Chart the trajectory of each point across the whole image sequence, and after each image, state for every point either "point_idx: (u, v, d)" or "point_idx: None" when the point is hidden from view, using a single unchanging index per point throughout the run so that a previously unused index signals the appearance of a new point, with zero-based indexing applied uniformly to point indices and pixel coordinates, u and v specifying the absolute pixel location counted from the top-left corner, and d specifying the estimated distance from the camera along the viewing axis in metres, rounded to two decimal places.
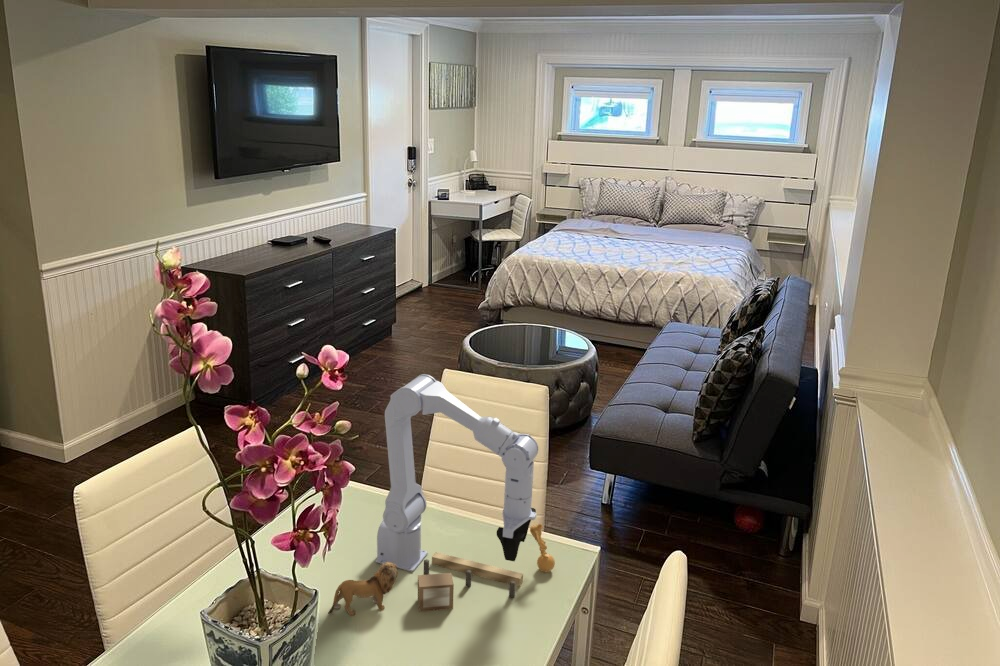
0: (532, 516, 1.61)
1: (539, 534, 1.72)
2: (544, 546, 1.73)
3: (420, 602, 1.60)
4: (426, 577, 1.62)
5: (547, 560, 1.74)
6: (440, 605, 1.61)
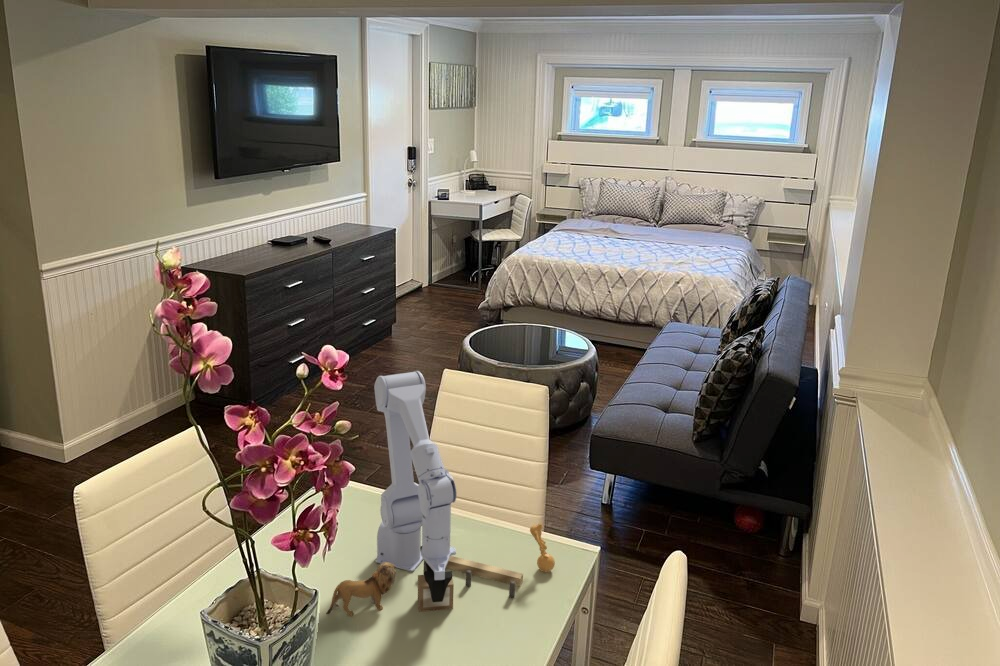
0: (453, 551, 1.59)
1: (539, 534, 1.72)
2: (544, 546, 1.73)
3: (420, 602, 1.60)
4: None
5: (547, 560, 1.74)
6: (440, 605, 1.61)
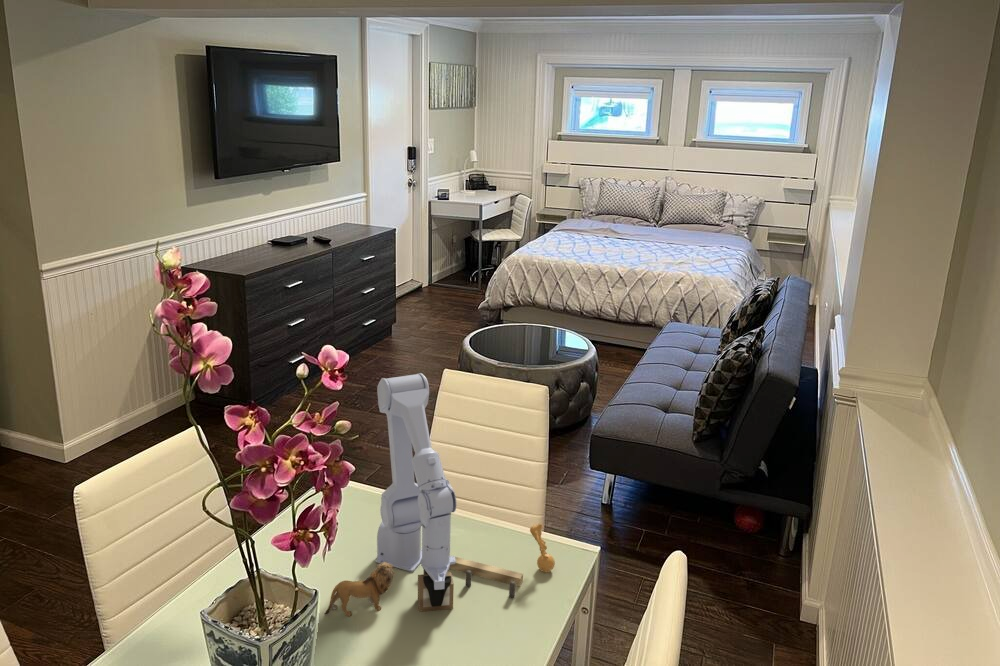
0: (453, 560, 1.60)
1: (539, 534, 1.72)
2: (544, 546, 1.73)
3: (420, 601, 1.60)
4: None
5: (547, 560, 1.74)
6: None
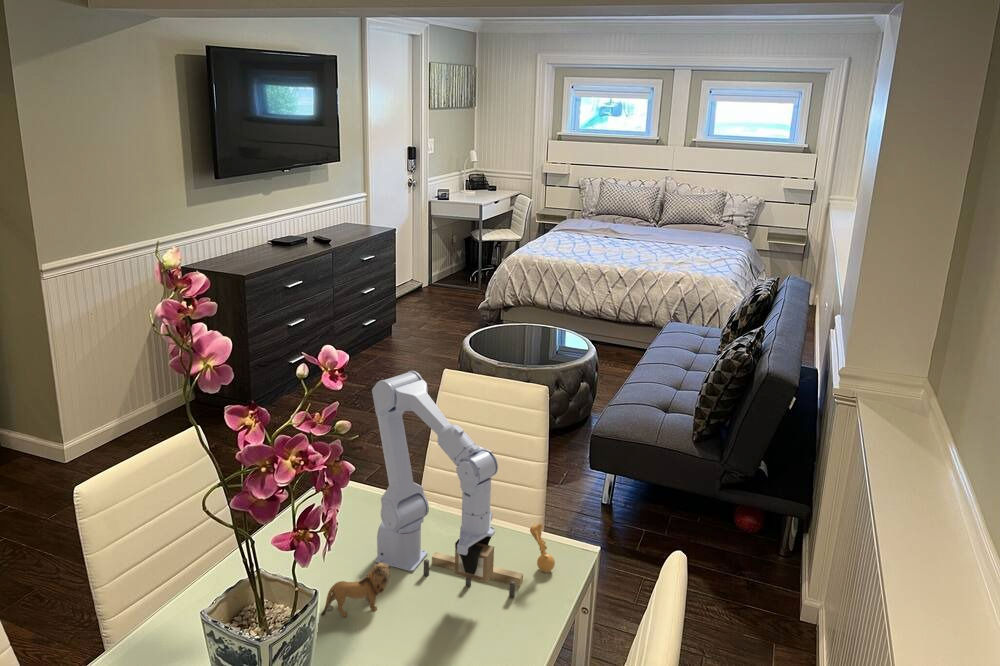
0: (490, 533, 1.57)
1: (539, 534, 1.72)
2: (544, 546, 1.73)
3: (456, 565, 1.61)
4: None
5: (547, 560, 1.74)
6: (474, 574, 1.60)
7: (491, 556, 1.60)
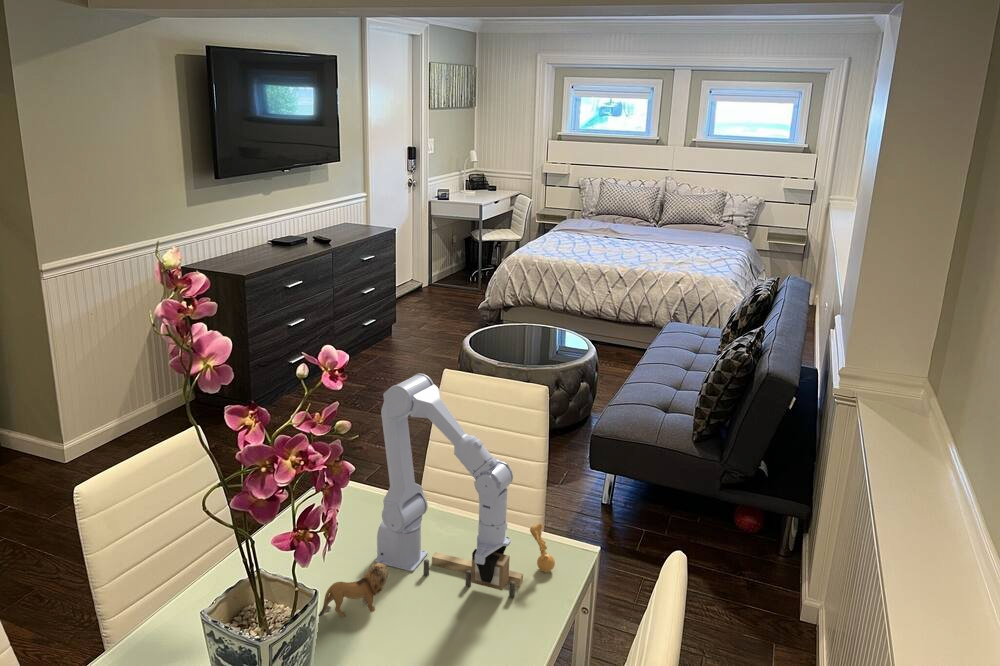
0: (506, 542, 1.62)
1: (539, 534, 1.72)
2: (544, 546, 1.73)
3: (472, 573, 1.65)
4: None
5: (547, 560, 1.74)
6: (490, 583, 1.64)
7: (507, 565, 1.65)
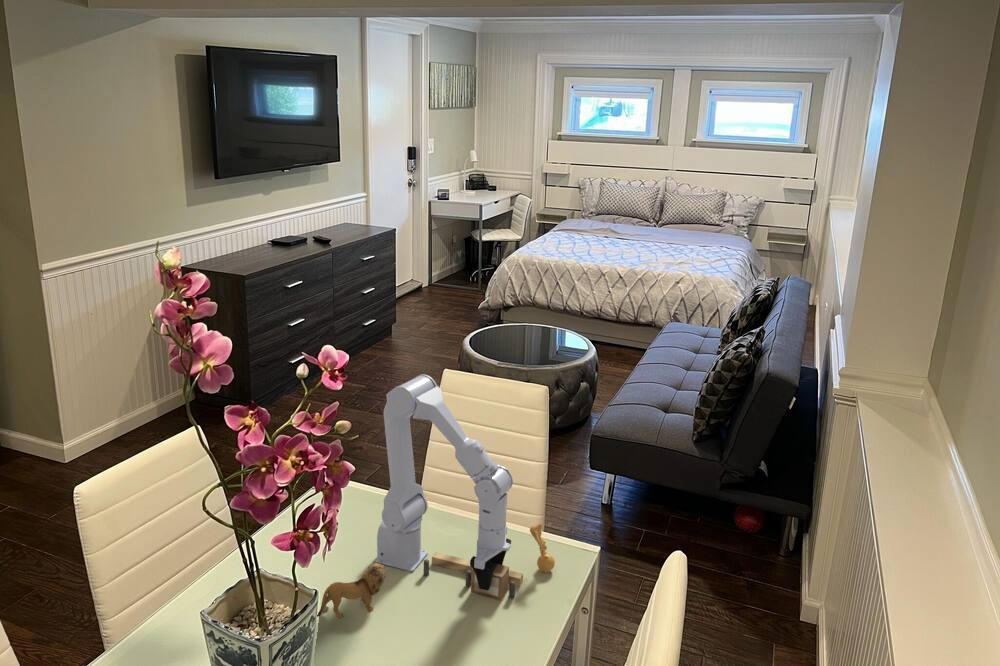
0: (505, 547, 1.62)
1: (539, 534, 1.72)
2: (544, 546, 1.73)
3: (472, 584, 1.66)
4: None
5: (547, 560, 1.74)
6: (490, 594, 1.65)
7: (506, 576, 1.66)
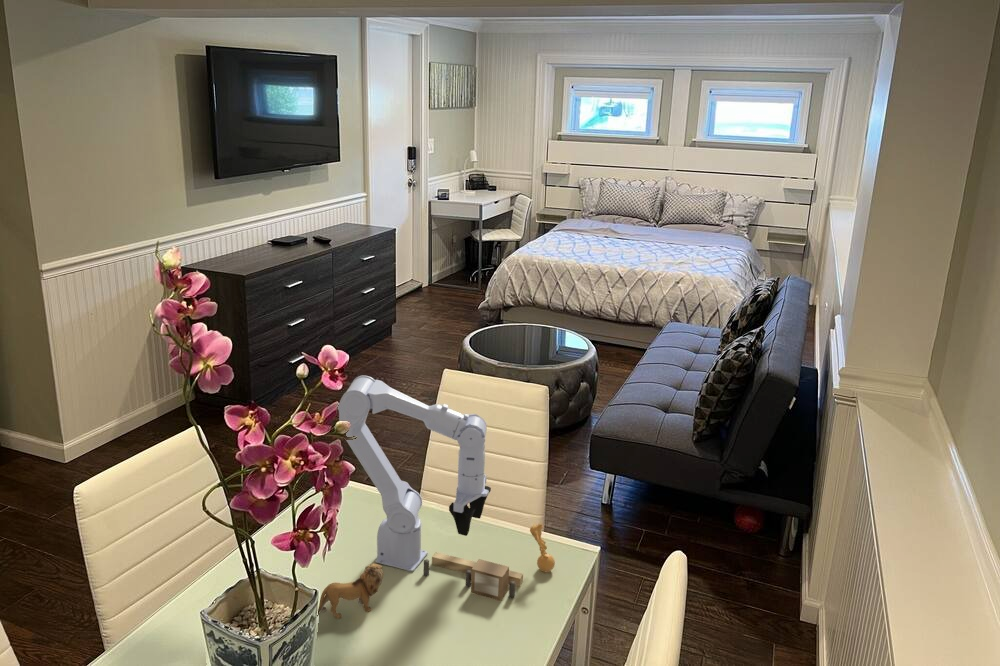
0: (484, 493, 1.70)
1: (539, 534, 1.72)
2: (544, 546, 1.73)
3: (472, 584, 1.66)
4: (484, 563, 1.67)
5: (547, 560, 1.74)
6: (490, 594, 1.65)
7: (506, 576, 1.66)
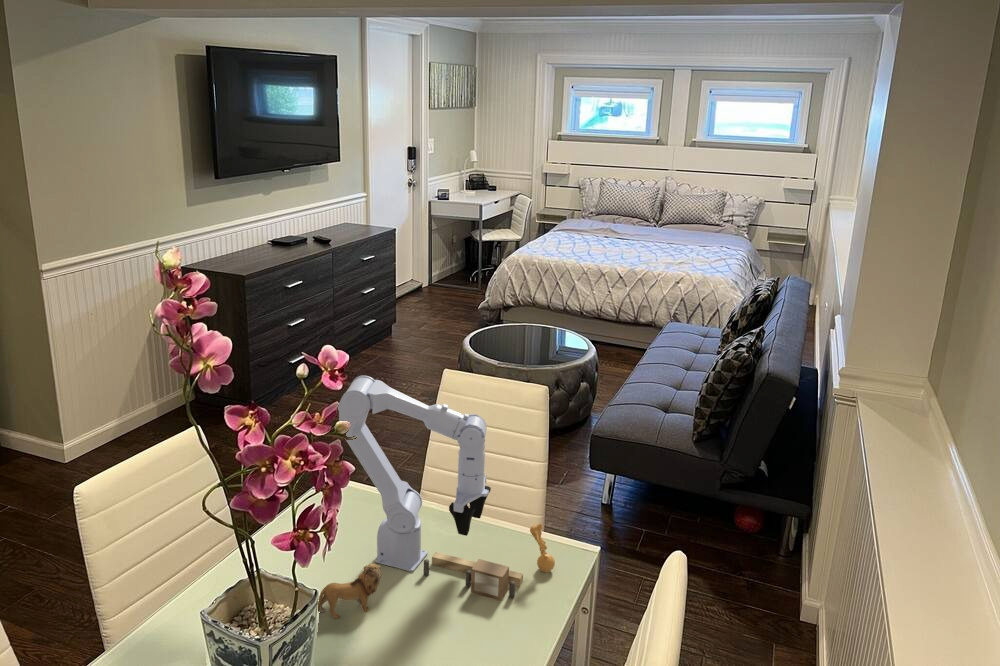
0: (484, 493, 1.70)
1: (539, 534, 1.72)
2: (544, 546, 1.73)
3: (472, 584, 1.66)
4: (484, 563, 1.67)
5: (547, 560, 1.74)
6: (490, 594, 1.65)
7: (506, 576, 1.66)
